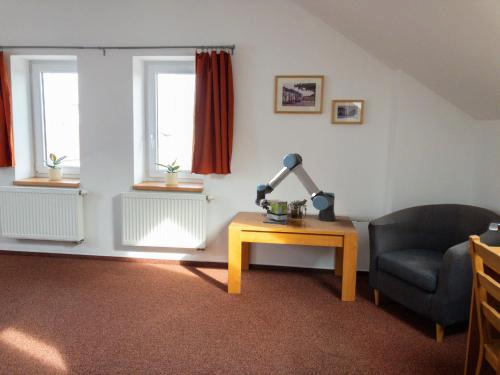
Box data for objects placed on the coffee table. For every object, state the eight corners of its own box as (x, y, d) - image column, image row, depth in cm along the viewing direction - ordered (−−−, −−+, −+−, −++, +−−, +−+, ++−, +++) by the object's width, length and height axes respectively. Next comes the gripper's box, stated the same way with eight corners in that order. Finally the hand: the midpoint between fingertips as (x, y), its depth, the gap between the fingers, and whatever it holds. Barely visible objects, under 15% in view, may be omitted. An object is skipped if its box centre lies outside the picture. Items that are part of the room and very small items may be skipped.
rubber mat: (289, 220, 330) (289, 218, 329) (285, 224, 312) (285, 223, 312) (268, 218, 334) (268, 217, 334) (263, 222, 317) (263, 221, 317)
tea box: (287, 219, 320) (288, 201, 318) (277, 220, 314) (278, 202, 312) (275, 216, 332) (276, 198, 330) (266, 217, 327) (266, 199, 325)
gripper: (277, 207, 345) (290, 212, 326) (253, 209, 336) (264, 213, 316) (278, 199, 344) (290, 203, 325) (253, 200, 335) (264, 204, 315)
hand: (277, 208), depth 320 cm, fingers closed on tea box, 11 cm apart
